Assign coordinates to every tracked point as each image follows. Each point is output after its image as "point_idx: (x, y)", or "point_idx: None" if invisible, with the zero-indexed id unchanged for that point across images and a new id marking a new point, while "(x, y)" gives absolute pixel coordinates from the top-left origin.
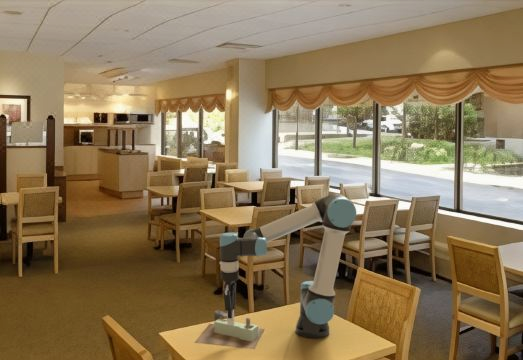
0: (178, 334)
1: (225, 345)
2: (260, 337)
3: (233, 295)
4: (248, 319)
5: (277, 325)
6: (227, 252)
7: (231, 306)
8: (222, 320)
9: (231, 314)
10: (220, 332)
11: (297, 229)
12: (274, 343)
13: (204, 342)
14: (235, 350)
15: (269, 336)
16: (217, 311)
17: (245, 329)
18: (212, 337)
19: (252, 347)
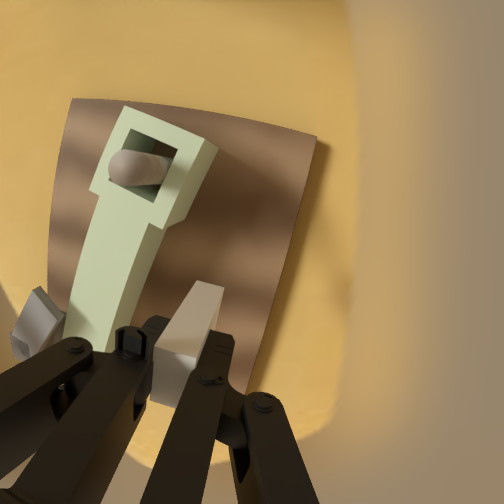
0: (148, 441)
1: (271, 293)
2: (164, 105)
3: (62, 482)
4: (141, 164)
5: (35, 64)
6: None
7: (218, 419)
8: (75, 328)
9: (213, 350)
10: (129, 318)
11: None
12: (212, 42)
13: (236, 383)
14: (298, 238)
15: (129, 71)
16: (20, 352)
17: (181, 187)
18: None
19: (300, 146)
